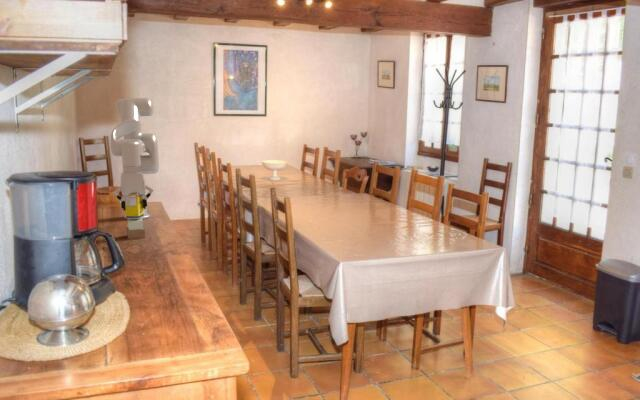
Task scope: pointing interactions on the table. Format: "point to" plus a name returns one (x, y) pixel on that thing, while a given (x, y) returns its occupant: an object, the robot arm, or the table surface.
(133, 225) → the cream square block
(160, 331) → the table surface
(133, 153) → the robot arm
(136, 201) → the supplement box
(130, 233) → the walnut slab
